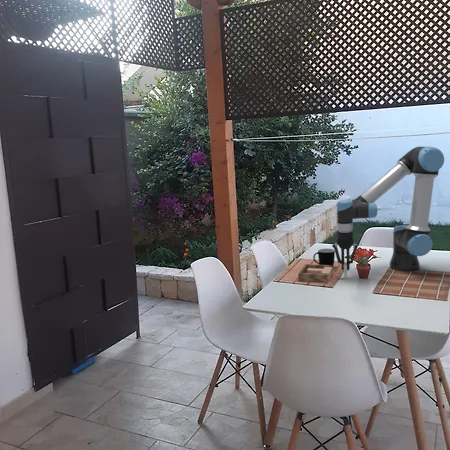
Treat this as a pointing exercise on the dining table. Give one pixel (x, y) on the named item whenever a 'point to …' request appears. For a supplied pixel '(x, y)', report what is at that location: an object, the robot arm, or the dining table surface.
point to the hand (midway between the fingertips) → (345, 276)
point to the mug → (325, 256)
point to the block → (321, 271)
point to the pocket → (312, 277)
